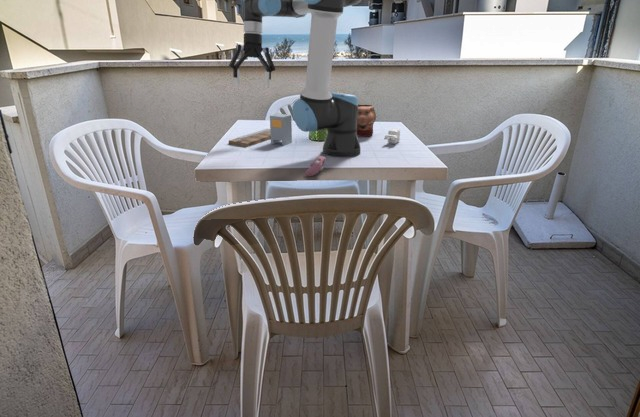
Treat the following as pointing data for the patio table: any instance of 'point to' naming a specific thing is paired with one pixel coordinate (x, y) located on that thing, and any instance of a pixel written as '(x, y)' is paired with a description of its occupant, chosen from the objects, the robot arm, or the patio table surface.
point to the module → (281, 128)
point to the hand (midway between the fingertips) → (252, 86)
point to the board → (251, 140)
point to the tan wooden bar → (253, 135)
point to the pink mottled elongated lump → (315, 166)
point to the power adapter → (393, 136)
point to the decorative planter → (365, 120)
